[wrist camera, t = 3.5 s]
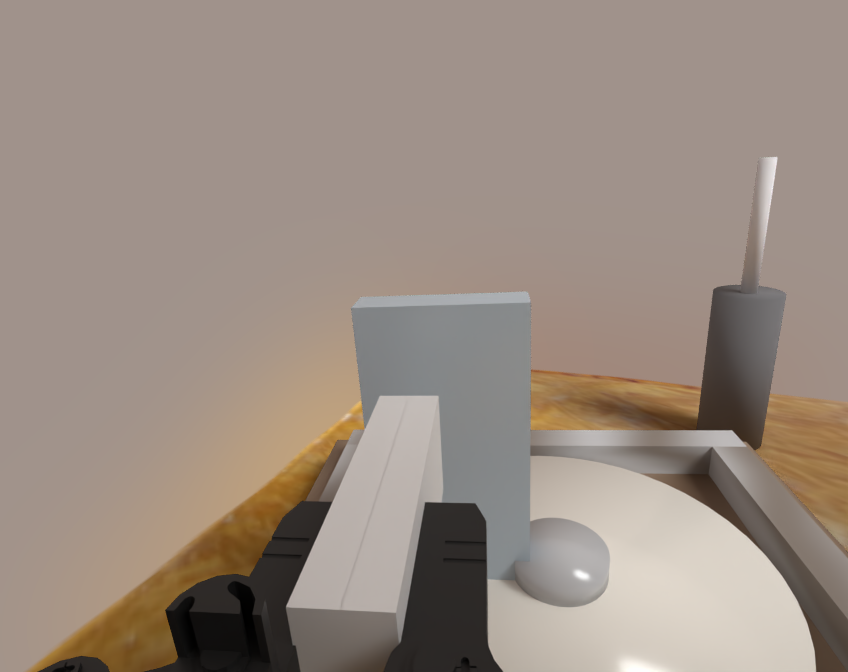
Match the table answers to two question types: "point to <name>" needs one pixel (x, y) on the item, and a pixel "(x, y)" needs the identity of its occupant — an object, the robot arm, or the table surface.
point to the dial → (573, 514)
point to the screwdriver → (744, 335)
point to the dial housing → (719, 490)
